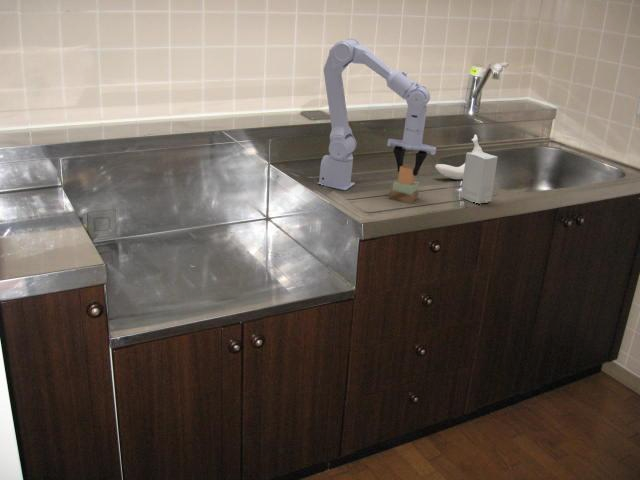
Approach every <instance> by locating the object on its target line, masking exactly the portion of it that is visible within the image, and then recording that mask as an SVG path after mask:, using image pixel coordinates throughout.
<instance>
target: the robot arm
mask: <svg viewBox="0 0 640 480" xmlns="http://www.w3.org/2000/svg"><path fill="white" fill-rule="evenodd" d="M351 63H352V64H360V65H365V66H366V67H368V68H369V69H371V70H372V71H373V72H374V73H376V74H377V75H379V76H380V77H382V78H383V79H384V80H385V81H386V86H387V87H388V88H389V89H390V90H392V91H393V92H394V93H395V94H397V95H398V96H399V97H400V98H401V99H403V100H405V101H406V104H407V111H406V115H405V122H404V130H403V135H402V139H397V138H388V139H387V144H386V146H387V147H394V148H393V151H392V152H393V154H394V158H395V161H396V167H397V173H399V170H400V166H402V165H403V164H404V157H405V155H406V154H405V153H406V150H409V151H414V152H417V153H415V164H414V166H415V169H414V176H415V177H416V176H418V175H419V172H420V169H421V166H422V164H423V162H424V161H425V159H426V157H428V155H432V156H434V155H435V154H436V152H437V147H435V146H432V145H428V144H425V143H423V138H424V132H425V131H424V130H425V124H426V118H427V117H426V116H427V107H428V106H427V105H428V104H429V101H430V100H431V94H430V91H429V90H428V89H427V87H425V86H424V85H423V86H422V85H421V84H420V83H419V82H415V81H414V80H413V79H412V78H411V77H409V76H408V72H406V71H405V70H403V71H401V70H400V69H398V70H393V69H392V68H391V67H390V66H388V64H386V63H385V62H384V61H383V60H381V58H379V57H378V56H377V55H376V54H375V53H373V52H372V51H371V50H370V49H369V48H368V47H366V46H365V45H364V44H362V43H360V42H359V41H358V40H356V39H355V38H347V39H345V40H340V41H338V42H336V43H335V44H334V45H333V46H332V47H331V48H330V49H329V53H328V57H327V59H326V62H325V64H324V67H323V76H324V82H325V89H326V90H325V91H326V97H327V104H328V111H329V117H330V126H331V131H330V134H329V145H328V153H329V154H324V156H323V157H322V158H321V162H320V168H319V180H318V182H317V185H319V184H321V185H320V186H323V185H324V187H328V188H332V189H333V188H334V189H337V190H342V191H347V190H348V189H350V188H351V187H353V186H354V185H355V182H352V171H353V162H354V156H353V152H354V151H356V148H357V140H356V138H355V137H354V134H353V130H352V128H351V127H350V125H349V119H348V112H347V103H346V95H345V89H344V83H343V74H342V73H343V72H344V71H345V69H347V67H348V66H349V65H350V64H351Z"/></svg>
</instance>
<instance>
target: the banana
mask: <svg viewBox="0 0 640 480" xmlns="http://www.w3.org/2000/svg"><path fill="white" fill-rule="evenodd" d="M471 141H472V143H473V146H474V147H473V149H472V151H471V152H474V151H481V152H484V151H483V149H482V147H481V146H480V145H479V138H478V135H477V134H474V136H473V138H471ZM434 166H435V169H436V171H438V172H439V173H440V174H441V175H442V176H444V177H446V178H450V179H451V180H452V179H453V180H458V181H459V180H463V176H464V168H465V162H464V163H463V164H462V165H460V166H453V165H449V164H443V163H441V164H439V163H437V164H435V165H434Z"/></svg>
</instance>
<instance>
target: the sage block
mask: <svg viewBox="0 0 640 480" xmlns="http://www.w3.org/2000/svg"><path fill="white" fill-rule="evenodd" d="M419 185H420V182H419V181H416V180H415V181H414V183H413V184H411V185H406V184H401V183H398V179H396V180H395V181H394V182H393V183H392V189H391V190H393V191H397V192H402V193H406V194H410V195H411V194H413V193H414V192H416V191H417V190H419Z"/></svg>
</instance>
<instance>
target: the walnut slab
mask: <svg viewBox="0 0 640 480" xmlns="http://www.w3.org/2000/svg"><path fill="white" fill-rule="evenodd" d="M419 192H420V189H418V190H417V191H416V192H414V193H413V194H411V195H410V194H406V193H402V192H397V191H393V190H392V189H391V190H390V189H389V197H388V199H389V200H392V201H396V202H402V203H406V204H410V205H412V204H413V203H414V202H415V201H416V200H417V199H418V198H419Z"/></svg>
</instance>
